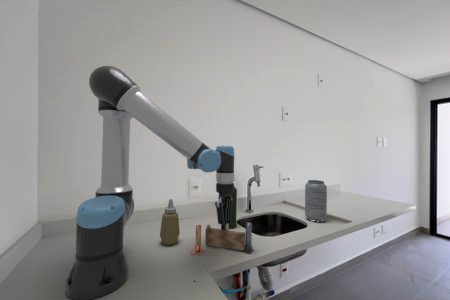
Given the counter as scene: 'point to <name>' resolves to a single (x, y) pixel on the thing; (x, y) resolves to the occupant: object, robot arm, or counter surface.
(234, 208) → the wine bottle
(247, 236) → the gate posts
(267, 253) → the counter surface
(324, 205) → the vase
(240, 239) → the gate
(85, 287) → the robot arm
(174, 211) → the squeeze bottle
